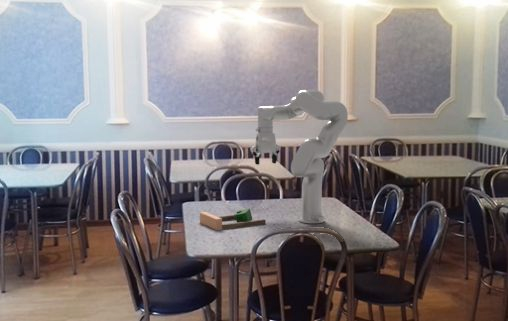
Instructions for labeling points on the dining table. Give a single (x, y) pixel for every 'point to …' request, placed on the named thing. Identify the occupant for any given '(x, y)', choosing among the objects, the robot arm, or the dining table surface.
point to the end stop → (211, 220)
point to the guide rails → (239, 224)
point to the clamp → (243, 215)
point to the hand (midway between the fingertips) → (265, 163)
